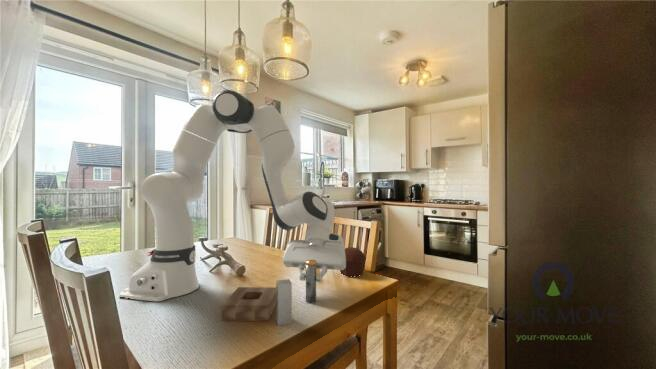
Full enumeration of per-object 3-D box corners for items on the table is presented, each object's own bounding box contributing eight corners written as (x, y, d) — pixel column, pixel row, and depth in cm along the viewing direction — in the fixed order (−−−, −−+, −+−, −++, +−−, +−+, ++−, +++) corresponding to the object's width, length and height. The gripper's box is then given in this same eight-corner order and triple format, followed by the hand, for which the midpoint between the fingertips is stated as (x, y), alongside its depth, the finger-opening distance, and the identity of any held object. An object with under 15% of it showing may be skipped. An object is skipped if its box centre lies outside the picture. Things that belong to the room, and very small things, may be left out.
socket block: (221, 320, 68) (221, 305, 68) (238, 300, 80) (238, 287, 80) (268, 321, 68) (268, 305, 68) (277, 300, 80) (277, 287, 80)
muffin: (332, 271, 108) (332, 246, 108) (356, 267, 112) (356, 244, 112) (346, 280, 97) (346, 253, 97) (371, 276, 101) (371, 250, 101)
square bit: (278, 325, 66) (278, 285, 66) (276, 319, 69) (276, 280, 69) (291, 323, 67) (291, 283, 67) (289, 317, 70) (289, 279, 70)
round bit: (305, 303, 78) (305, 262, 78) (306, 298, 81) (306, 259, 81) (316, 303, 78) (315, 262, 78) (316, 298, 81) (316, 259, 81)
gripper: (286, 234, 89) (274, 273, 79) (346, 236, 85) (342, 277, 75) (290, 244, 93) (280, 282, 83) (348, 247, 89) (344, 287, 79)
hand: (310, 280), depth 79 cm, fingers open, 4 cm apart
